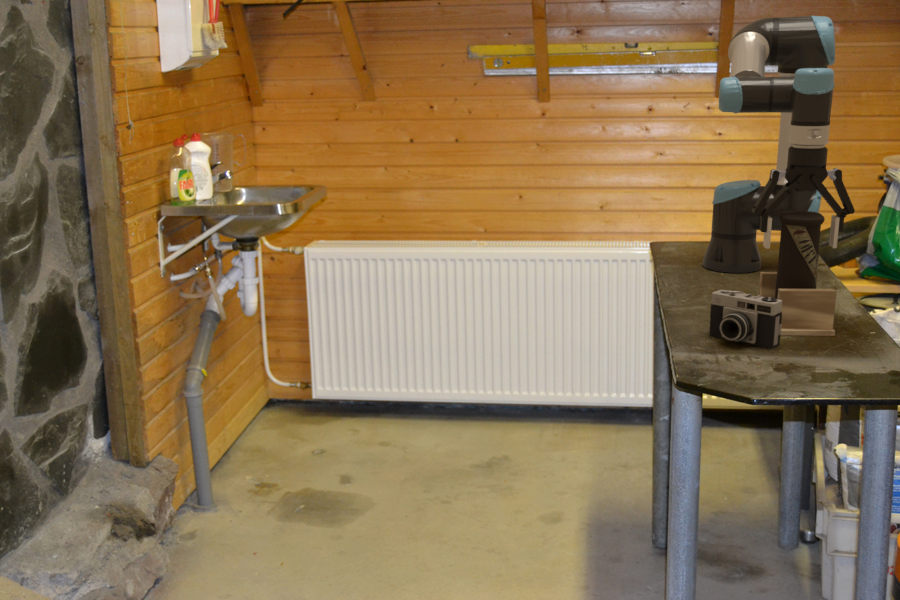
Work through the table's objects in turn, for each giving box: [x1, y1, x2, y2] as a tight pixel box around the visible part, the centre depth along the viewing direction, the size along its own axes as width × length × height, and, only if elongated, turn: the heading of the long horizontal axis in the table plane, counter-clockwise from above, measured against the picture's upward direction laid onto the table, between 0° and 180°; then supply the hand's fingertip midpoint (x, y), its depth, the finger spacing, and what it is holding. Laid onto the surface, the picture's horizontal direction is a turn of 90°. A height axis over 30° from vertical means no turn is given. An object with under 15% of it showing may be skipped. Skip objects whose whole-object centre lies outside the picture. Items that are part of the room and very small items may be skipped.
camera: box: [708, 289, 782, 350], centre depth 178 cm, size 14×9×10 cm, turn 37°
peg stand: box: [758, 271, 837, 337], centre depth 191 cm, size 20×11×9 cm, turn 175°
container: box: [775, 211, 825, 299], centre depth 188 cm, size 9×9×20 cm
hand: (799, 247), depth 188 cm, fingers open, 13 cm apart
